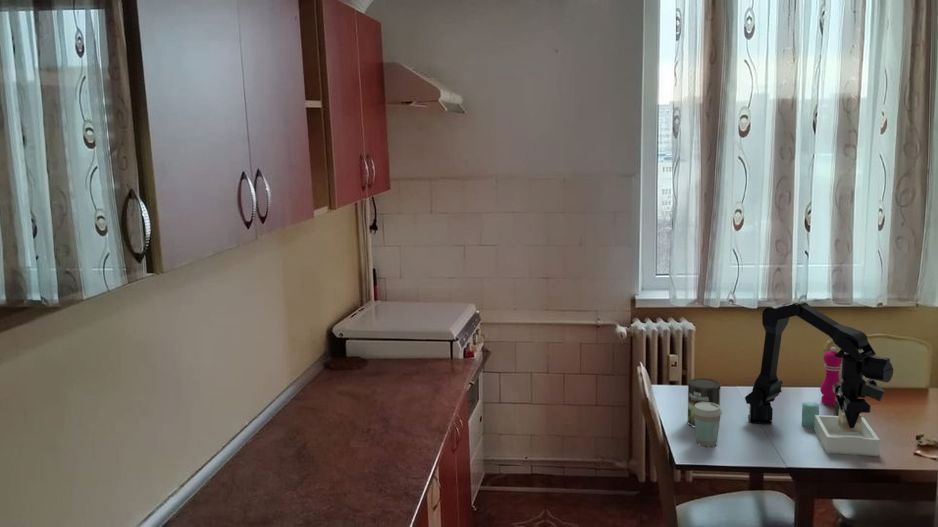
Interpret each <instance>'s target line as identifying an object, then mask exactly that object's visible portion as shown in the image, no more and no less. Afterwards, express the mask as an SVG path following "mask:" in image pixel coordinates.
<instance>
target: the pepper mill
mask: <svg viewBox="0 0 938 527" xmlns="http://www.w3.org/2000/svg"><path fill="white" fill-rule="evenodd" d="M838 352H839V351H837V347H835V346H832V347H830V350H828V351H827V352H825V353H824V355H823V361H824V363H825V364H824V369H825V377H824V379H823V381H822V383H821V385H820V390H819V391H820V393H821V394H822V395H821V400H820V401H821V403H823V404H824V405H827V406H835V395H837V394H838V391H837V393H834V392H833V384H835V383H836V382H841V379H840V378H839V374H840V371H841V366H842V358H839V357H835V356H834V355H835V354H836V353H838Z"/></svg>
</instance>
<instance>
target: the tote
mask: <svg viewBox="0 0 938 527" xmlns="http://www.w3.org/2000/svg"><path fill="white" fill-rule="evenodd" d="M838 417H839V416H834V415H822V414H819V415H815V421H814V428H813V429H814V430H813V431H814V432H815V434H816V436H817V438H818V440H819V442H820V444H821V446H822V448H823V449H824V450H823V451H825V454H833V455H835V454H836V455H848V456H851V455H852V456H867V457H880V447H881V446H880V445H881V440H880V438H879V437H878V435H877V434H876V433H875V431H874V430H873V429H872V427H871V426H870V425H869V424H870V423H869V422H867V420H866V419H865V417H862V419H861V432H848V431H842V430H841V429H840V427H839V425H838Z"/></svg>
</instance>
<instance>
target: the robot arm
mask: <svg viewBox="0 0 938 527" xmlns="http://www.w3.org/2000/svg"><path fill="white" fill-rule="evenodd" d="M795 316H796V317H797V318H800V319H801V320H802V321H804V322H805V323H807V324H809V325H811V326H812V327H813V328H815V329H817V330H818V331H820V332H821V333H824V334H825V335H826V336H828V337H829V338H830V339H831V340H832V342H833V343H834V345H835V346H836V347H838V348H839V349H840V350H839V351H837V352H838V353H836V354H835V355H834V356H835V357H839V358H842V363H841V365H840V366H841V367H840V368H841V370H840V373H839V379H840V382H836V383H835V384H833V392H834V393H837V391H838V395H835V397H836V399H837V401H838V404H839V406H840V409H843V410H844V413H845V416H846V419H847V422H848V425H849V427H850V428H854V427H855V424H856V422H857V419H858V417H859V415H860V414H861V413H862V414H863V413H865V414H866V413H868V414H869V413H871V405H870V403H869V402H868V401H867V400H866V397H869V398H871V399H874V400H875V401H878V402H881V401H882V399H883V397H884V394H885V393H886V390H884V389H883V388H882V387H881V386H879V385H878V384H877V381H878V382H883V383H886V384H887V383H890V381H891V380H892V378H893V375H894V368H893V364H892V363H891V358H890V357H889V358H888V357H881V356H877V354H876V352H875V350H874V348H873V347H872V345H871V343H870V342H869V339H868V335H867V334H866V333H865V332H863V331H861V330H858V329H856V328H854V327H850V326H846V325H843V324H840V323H838V322H837V321H835V320H833V319H832V318H830V317H829V316H828V315H825V314H824V313H822V312H820V311H819V310H817V309H815V307H813V306H811V305H809V303H807V302H806V301H803V300H802V301H797V302H794V303H792V304H788V305H785V304H783V303H781V304H780V303H779V304H775V305H771V306H767V307H765V308H764V309H763V310H762V312H761V319H762V320H761V322H762V326H763V328H764V329H763V330H764V331H765V335H764V342H763V350H762V358H761V365H760V373H759V374H758V376H757V378H756V379H755V380H754V383H753V386H752V390H751V392H750V393H748V394H747V395H745V396H744V400H745V402H746V404H747V405H749V406H748V408H749V410H748V411H749V413H748V415H747V416H748V420H749V423H751V424H765V425H766V424H769V425H771V424H772V421H773V413H774V412H773V407H772V404H771V403H772V402H775V399H776V398H777V397H778V396H779V395H780V393H782V385H783V380H781V379H779V378H778V375H777V372H778V363H779V357H780V349H781V344H782V343H781V342H782V334H783V332H784V331H785V329H786V328H787V326H788V323H789V320H790V318H791V317H795ZM860 351H862V352H860ZM864 377H865V378H866V379H868V380H865V379H864Z"/></svg>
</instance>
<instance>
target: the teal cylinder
mask: <svg viewBox="0 0 938 527" xmlns="http://www.w3.org/2000/svg"><path fill="white" fill-rule="evenodd" d="M815 415H820V404H819V403H817V402H812V401H803V402H802V403H801V426H803V427H804V428H806V429H807V428H808V429H814V421H815Z"/></svg>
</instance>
